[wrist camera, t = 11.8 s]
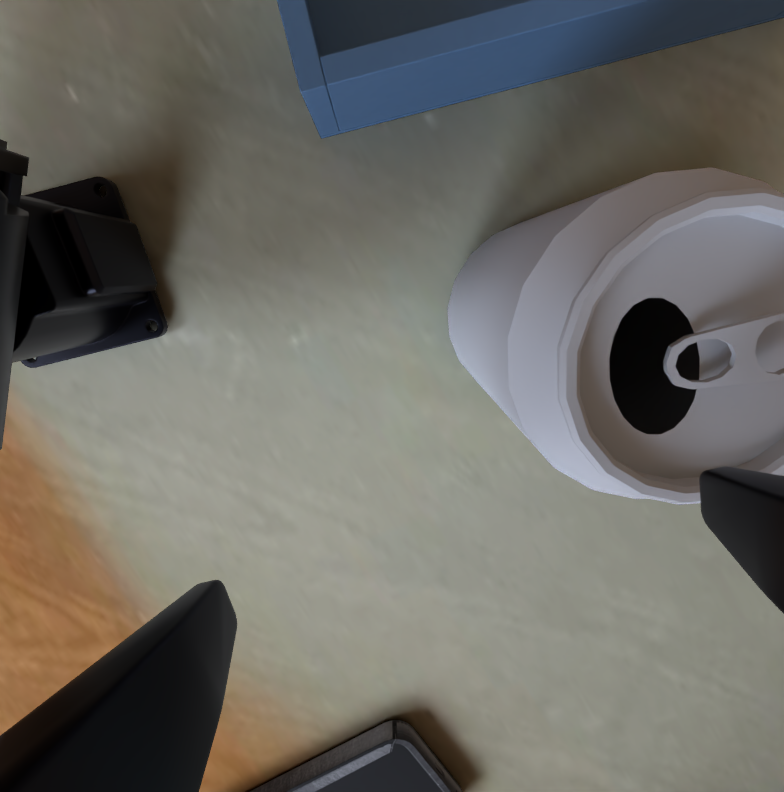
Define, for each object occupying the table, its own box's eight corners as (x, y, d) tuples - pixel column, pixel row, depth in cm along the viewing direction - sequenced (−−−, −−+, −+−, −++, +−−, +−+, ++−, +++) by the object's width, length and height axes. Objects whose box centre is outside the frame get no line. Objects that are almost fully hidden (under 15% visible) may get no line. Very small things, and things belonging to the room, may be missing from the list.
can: (427, 247, 19) (497, 207, 8) (601, 202, 19) (943, 90, 7) (463, 410, 21) (561, 573, 10) (621, 371, 21) (917, 491, 9)
